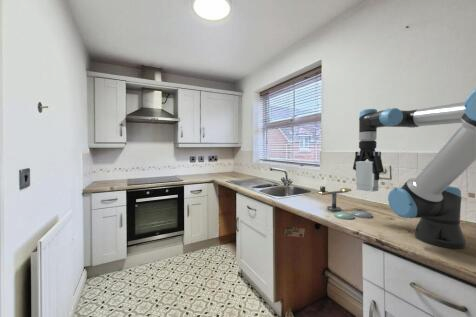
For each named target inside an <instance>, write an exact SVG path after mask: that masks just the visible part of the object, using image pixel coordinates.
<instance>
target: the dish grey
mask: <svg viewBox="0 0 476 317" xmlns="http://www.w3.org/2000/svg"><path fill="white" fill-rule="evenodd" d="M351 214H353V215H354V217H356V218H359V219H360V218H361V219H371V218H373V214H372V213H370V212H369V211H368V212H367V211H363V210H352V211H351Z"/></svg>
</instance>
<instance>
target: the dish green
mask: <svg viewBox="0 0 476 317" xmlns="http://www.w3.org/2000/svg"><path fill="white" fill-rule="evenodd" d="M333 217H335V218H337V219H341V220H347V221H348V220H354V219H355V216H354V215H353V214H352V213H350V212H346V211H334V213H333Z"/></svg>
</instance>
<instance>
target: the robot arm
mask: <svg viewBox="0 0 476 317" xmlns="http://www.w3.org/2000/svg"><path fill="white" fill-rule="evenodd" d="M451 124H462V125H460V126H459V128H458V129H457V130H456V131H455V133H454V134H453V135H452V136H451V137H450V139H449V140H448V141H447V142H446V143H445V144H444V145H443V147H442V148H440V150H439V151H438V152H437V153H436V155H435V156H434V157H433V158H432V159H431V160H430V161H429V162H428V163H427V165H425V167H424V168H423V169H422V171H420V172H419V174H418V175H417V176H416V177H414V178H412V177H411V178H408V180H406V182H405V183H404V184H403V185H402V186H401V187H395V188H393V189H391V190H390V191H389V192H388V195H387V201H388V204H389V207H390V209H391V211H392V212H393V213H394V214H395V215H396V216H398V217H400V218H403V219H412V220H413V219H416V218H417V219H419V218H420V219H419V221H418V223H417V225H416V227H415V230H414V238H416V239H418V240H419V241H421V242H424V243H427V244H430V245H433V246H437V247H442V248H448V249H455V250H456V249H465V248H466V238H465V235H464V233H463V230H462V227H461V210H462V209H461V207H462V206H461V205H462V204H461V203H462V198H463V197H462V191H461V189H460V188H459V187H456V186H451V184H452V183H454V182H455V180H457V179H458V178H459V177H460V176H461V175H462V174H463V173H464V172H465V171H466V170H467V169H468V168H469V167H471V165H473V163H475V161H476V88H474V89H473V90H472V91H471V92H470V93H469V94H468V95H467V97H466V98H465V101H461V102H455V103H450V104H444V105H438V106H431V107H424V108H418V109H412V110H401V109H399V108H396V107H393V108H386V109H384V110H379V111H378V110H377V109H376V108H367V109H363V110H361V111H359V118H358V127H359V128H358V131H359V132H358V140H359V142H358V148H359V149H360V150H359V151H355V154H354V155H355V157H354V162H353V166H352V170H354V171H355V172H356V162H358V161H370V162H374V163H373V171H374V172H373V173H372V187H378V188H379V181H380V173H384V171H385V170H384V166H383V160H382V156H381V155H382V152H381V151H376V148H377V137H378V136H377V130H378V128H385V127H386V128H387V127H388V128H391V127H393V128H394V127H395V128H419V127H425V126H426V127H427V126H439V125H451ZM376 170H377V171H376Z"/></svg>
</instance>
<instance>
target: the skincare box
mask: <svg viewBox="0 0 476 317" xmlns="http://www.w3.org/2000/svg"><path fill="white" fill-rule="evenodd" d="M373 163H374V162H370V161H368V160H365V161H358V162H356V171H355V177H356V180H355V181H356V183H355V184H356V190H357V191H358V190H359V191H365V192H378V191H379V186H378V187H372V173H373V172H374V171H373ZM376 171H377V170H376Z"/></svg>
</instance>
